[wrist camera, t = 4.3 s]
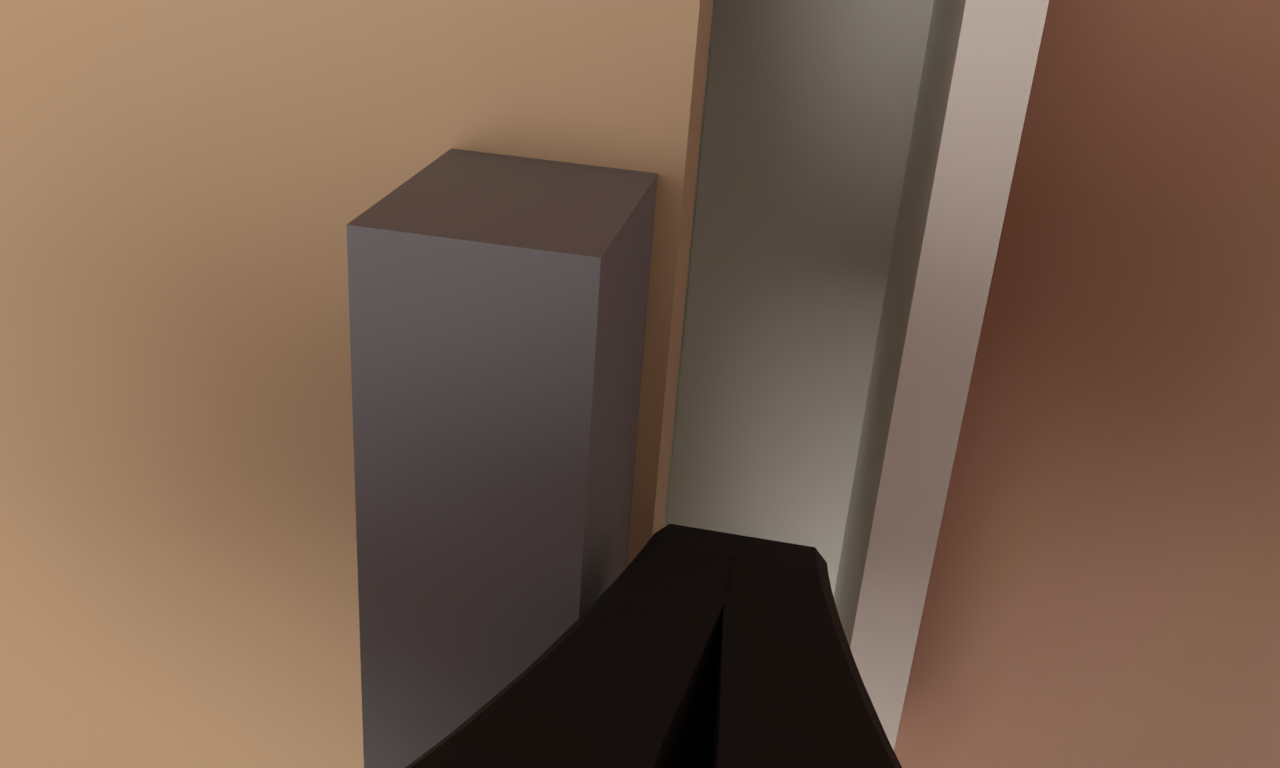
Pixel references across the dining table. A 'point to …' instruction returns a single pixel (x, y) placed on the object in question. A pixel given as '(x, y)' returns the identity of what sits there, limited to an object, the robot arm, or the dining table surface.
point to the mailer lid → (326, 360)
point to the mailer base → (845, 286)
